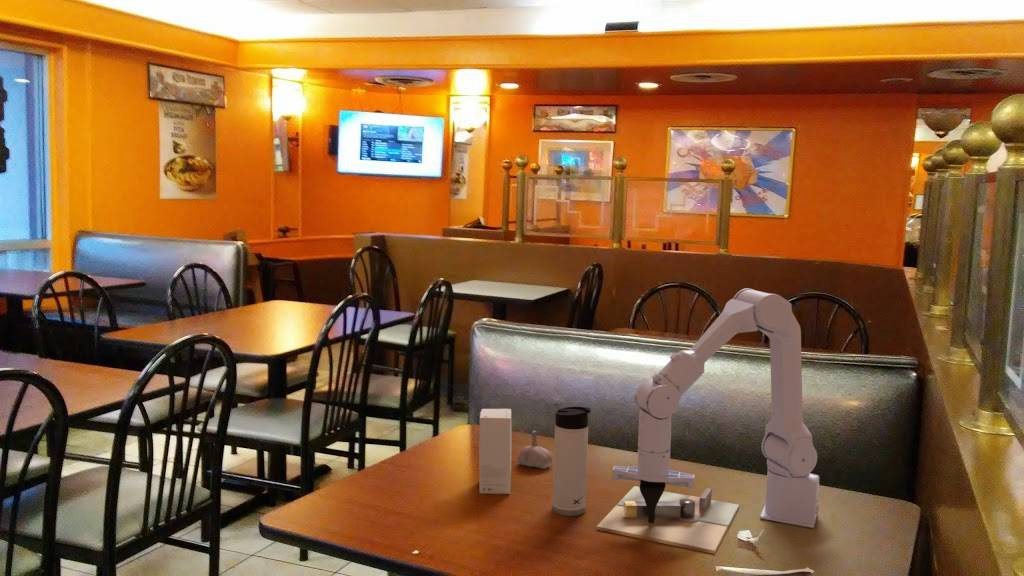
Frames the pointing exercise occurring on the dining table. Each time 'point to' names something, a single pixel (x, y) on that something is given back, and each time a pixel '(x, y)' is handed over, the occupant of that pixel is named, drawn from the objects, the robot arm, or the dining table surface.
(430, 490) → the dining table surface
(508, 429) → the skincare box
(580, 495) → the travel mug
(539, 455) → the garlic bulb
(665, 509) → the bar
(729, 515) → the door board
